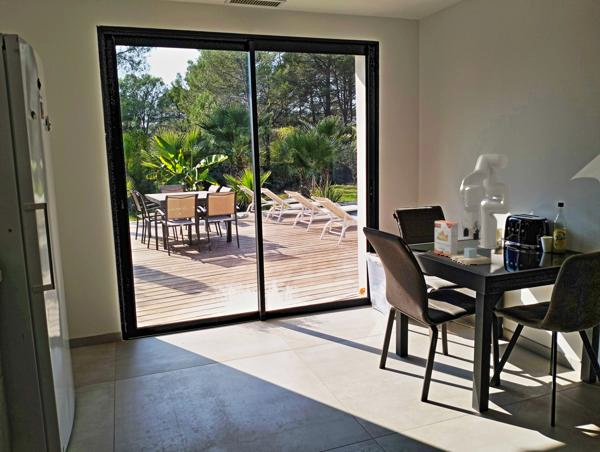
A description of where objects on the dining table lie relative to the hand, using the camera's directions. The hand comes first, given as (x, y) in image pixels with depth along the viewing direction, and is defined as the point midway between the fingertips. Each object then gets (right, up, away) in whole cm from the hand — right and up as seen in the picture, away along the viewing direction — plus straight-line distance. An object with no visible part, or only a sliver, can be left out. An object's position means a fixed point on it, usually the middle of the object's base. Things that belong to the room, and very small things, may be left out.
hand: (470, 238), depth 276 cm
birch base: (0, -13, +2) cm, 14 cm away
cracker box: (-9, -11, +18) cm, 23 cm away
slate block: (0, -11, +1) cm, 11 cm away
